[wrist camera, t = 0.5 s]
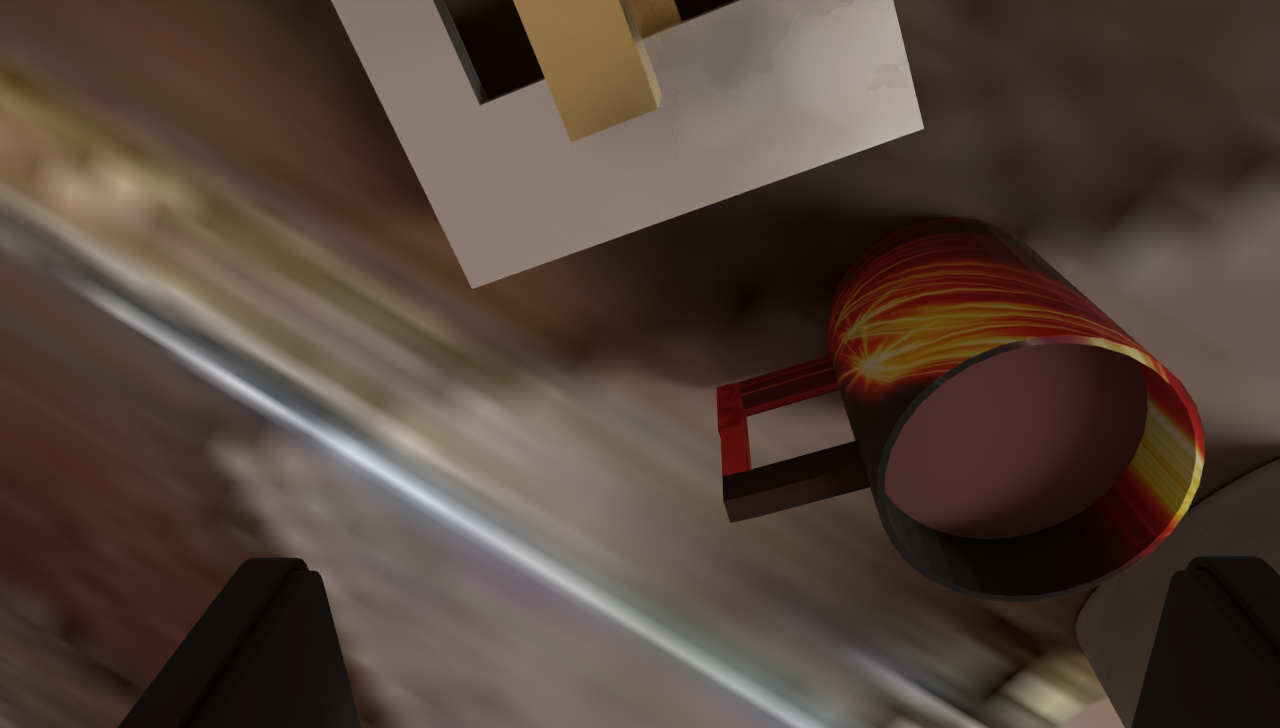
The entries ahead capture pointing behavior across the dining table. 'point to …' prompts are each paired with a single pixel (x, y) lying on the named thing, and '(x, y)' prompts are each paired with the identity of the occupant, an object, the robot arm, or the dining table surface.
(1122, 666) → the flask
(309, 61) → the dining table surface
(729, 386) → the mug
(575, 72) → the tall wooden post
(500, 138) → the white slotted holder
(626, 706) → the dining table surface
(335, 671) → the robot arm
